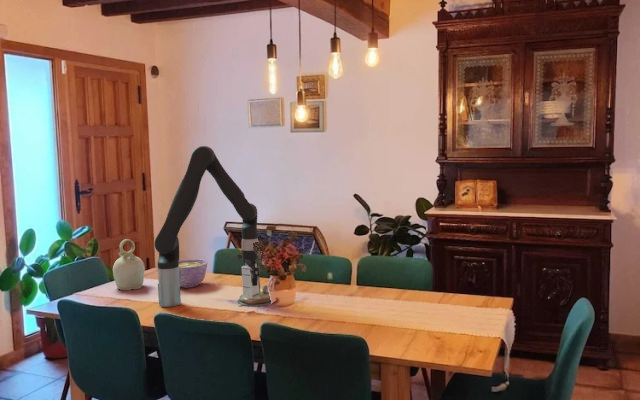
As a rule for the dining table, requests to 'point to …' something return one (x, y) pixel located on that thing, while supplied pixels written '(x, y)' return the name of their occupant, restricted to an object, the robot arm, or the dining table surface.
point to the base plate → (252, 304)
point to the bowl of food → (191, 272)
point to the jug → (128, 269)
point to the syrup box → (249, 284)
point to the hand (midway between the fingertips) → (251, 283)
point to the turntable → (258, 300)
